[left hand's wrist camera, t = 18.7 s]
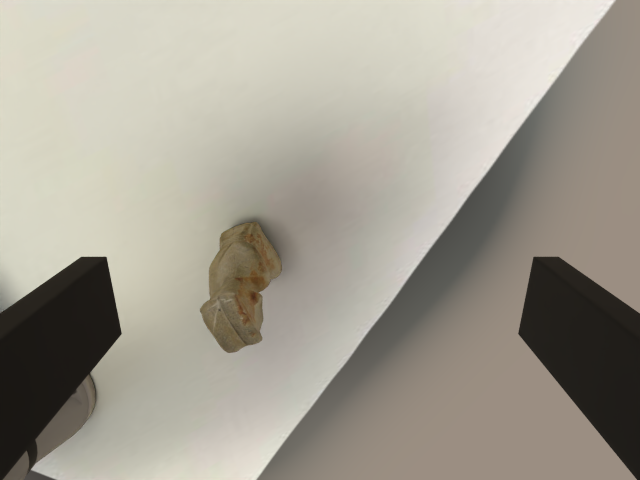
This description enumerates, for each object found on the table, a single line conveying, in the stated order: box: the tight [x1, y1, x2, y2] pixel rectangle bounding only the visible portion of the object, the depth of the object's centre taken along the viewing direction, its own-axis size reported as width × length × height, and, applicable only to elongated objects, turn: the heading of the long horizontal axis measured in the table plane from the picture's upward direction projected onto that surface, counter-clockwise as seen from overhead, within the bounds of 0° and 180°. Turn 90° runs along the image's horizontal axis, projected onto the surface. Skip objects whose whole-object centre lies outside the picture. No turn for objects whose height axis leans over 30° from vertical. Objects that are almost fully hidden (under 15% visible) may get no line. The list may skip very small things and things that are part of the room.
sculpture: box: [200, 222, 282, 353], centre depth 38 cm, size 6×7×15 cm
